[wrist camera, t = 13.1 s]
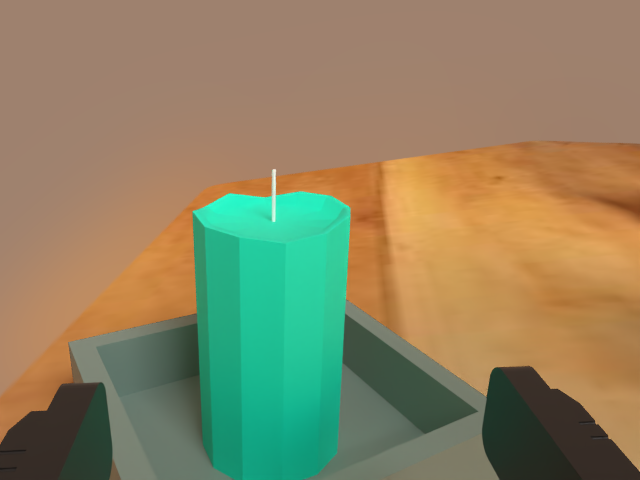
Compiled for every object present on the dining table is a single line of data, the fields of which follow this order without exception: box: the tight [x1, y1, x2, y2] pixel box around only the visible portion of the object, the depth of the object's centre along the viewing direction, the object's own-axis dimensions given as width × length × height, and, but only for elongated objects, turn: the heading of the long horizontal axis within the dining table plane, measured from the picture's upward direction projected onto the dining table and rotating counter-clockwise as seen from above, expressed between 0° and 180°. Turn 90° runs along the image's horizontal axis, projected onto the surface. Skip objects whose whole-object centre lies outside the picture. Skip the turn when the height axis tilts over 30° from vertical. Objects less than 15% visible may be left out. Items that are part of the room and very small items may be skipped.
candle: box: [193, 170, 350, 480], centre depth 23 cm, size 6×6×12 cm
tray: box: [68, 300, 499, 480], centre depth 25 cm, size 14×14×4 cm
